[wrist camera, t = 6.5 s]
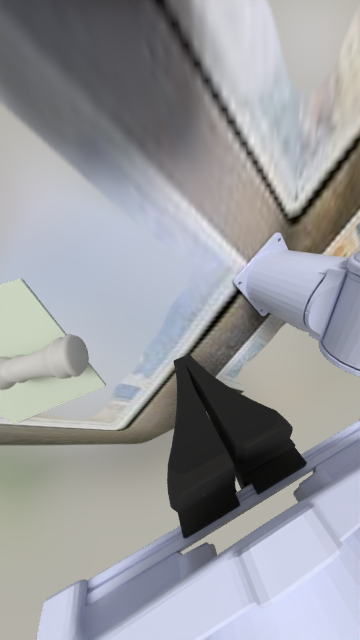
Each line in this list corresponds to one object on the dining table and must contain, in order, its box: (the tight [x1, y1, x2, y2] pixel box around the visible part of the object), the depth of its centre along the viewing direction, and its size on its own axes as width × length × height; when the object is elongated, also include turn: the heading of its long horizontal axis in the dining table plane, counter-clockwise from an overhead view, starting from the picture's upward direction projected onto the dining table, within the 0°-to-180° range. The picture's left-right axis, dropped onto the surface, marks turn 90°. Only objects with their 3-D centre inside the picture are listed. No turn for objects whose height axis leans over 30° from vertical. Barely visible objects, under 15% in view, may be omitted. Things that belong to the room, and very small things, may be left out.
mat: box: [0, 278, 106, 424], centre depth 18 cm, size 12×16×1 cm
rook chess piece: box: [0, 334, 88, 390], centre depth 16 cm, size 4×4×8 cm
